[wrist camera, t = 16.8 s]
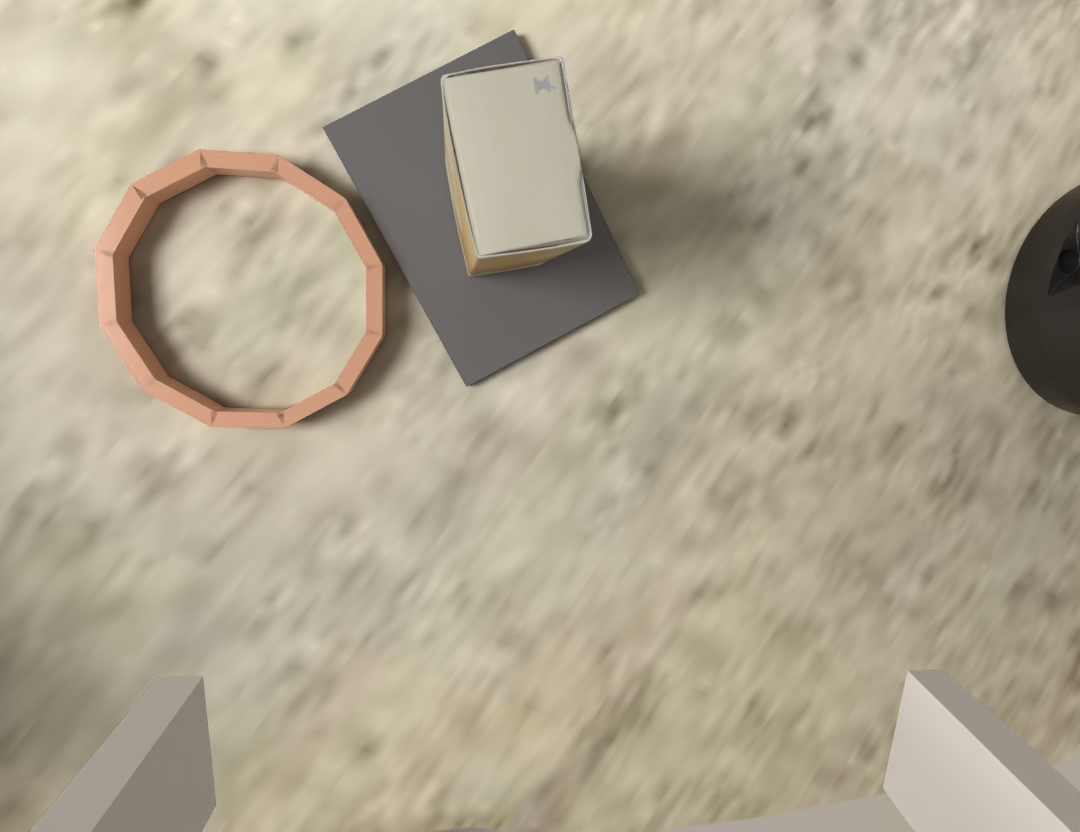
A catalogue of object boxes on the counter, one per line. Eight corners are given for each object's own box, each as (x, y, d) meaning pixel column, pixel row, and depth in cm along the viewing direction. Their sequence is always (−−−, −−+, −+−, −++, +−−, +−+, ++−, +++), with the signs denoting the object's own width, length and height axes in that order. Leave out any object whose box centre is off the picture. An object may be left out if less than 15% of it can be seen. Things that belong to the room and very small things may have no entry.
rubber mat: (512, 34, 32) (513, 29, 31) (636, 294, 35) (639, 293, 34) (325, 130, 31) (322, 127, 31) (466, 385, 34) (466, 386, 34)
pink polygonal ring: (299, 112, 31) (291, 102, 29) (431, 349, 34) (430, 350, 32) (56, 236, 30) (36, 232, 29) (210, 466, 33) (199, 473, 32)
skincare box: (443, 160, 32) (433, 61, 20) (524, 147, 32) (563, 42, 20) (468, 284, 33) (473, 262, 21) (546, 270, 33) (596, 240, 21)
